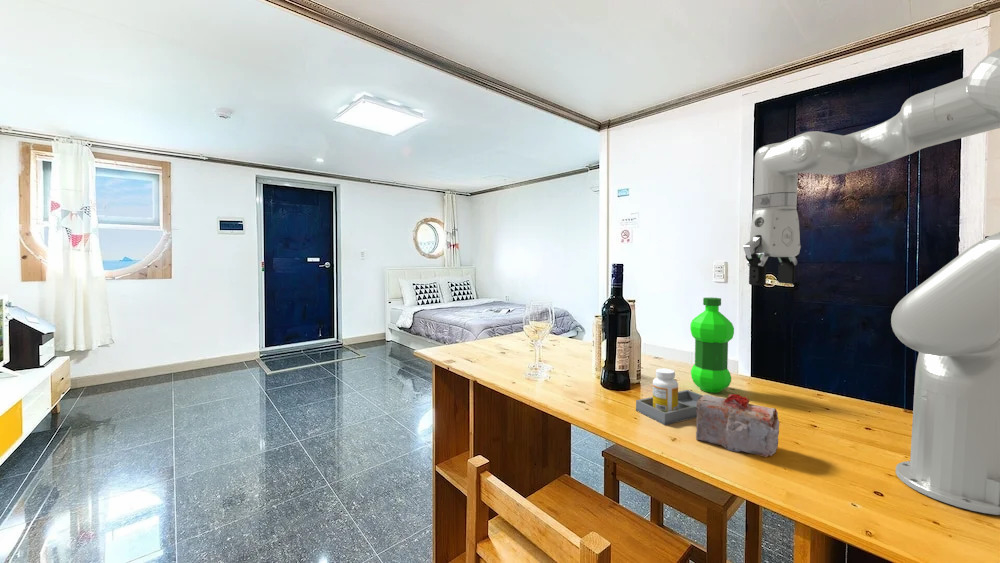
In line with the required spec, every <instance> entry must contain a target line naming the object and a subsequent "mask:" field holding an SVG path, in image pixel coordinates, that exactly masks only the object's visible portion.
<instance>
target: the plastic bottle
mask: <svg viewBox="0 0 1000 563" xmlns="http://www.w3.org/2000/svg"><path fill="white" fill-rule="evenodd" d="M702 299H703V300H702V302H703V303H702V305H703V306H705V308H704V309H705V310H703V311H702V312H700V313H699V314H697V316H695V317H694V318H692V320H691V322H690V326H689V328H690V329H689V330H690V333H691V336H692V337H693V338H694V340H695V341H694V342H695V343H694V346H695V348H694V364H693V366H692V367H691V370H690V375H691V379H692V382H693V383H694V385H695V386H696V387H698V388H699V389H700V390H701V391H704V392H707V393H712V394H713V393H715V394H716V393H717V394H718V393H720V392H722V391H723V390H725V389H727V388H729V386H730V385H731V383H732V376H731V373H730V371H729V368H728V362H729V361H728V360H729V358H728V356H729V355H728V354H729V342H730V341H732V339H734V335H735V327H734V325H733V323H732V322H731V321H730V320H729V319H728V318H727V317H726V316H725V315H724V314H722V313H721V312H720V311H719V310H720V309H719V308H720V306H722V298H721V297H702Z"/></svg>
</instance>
